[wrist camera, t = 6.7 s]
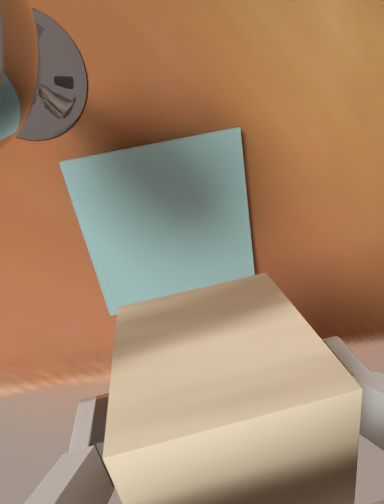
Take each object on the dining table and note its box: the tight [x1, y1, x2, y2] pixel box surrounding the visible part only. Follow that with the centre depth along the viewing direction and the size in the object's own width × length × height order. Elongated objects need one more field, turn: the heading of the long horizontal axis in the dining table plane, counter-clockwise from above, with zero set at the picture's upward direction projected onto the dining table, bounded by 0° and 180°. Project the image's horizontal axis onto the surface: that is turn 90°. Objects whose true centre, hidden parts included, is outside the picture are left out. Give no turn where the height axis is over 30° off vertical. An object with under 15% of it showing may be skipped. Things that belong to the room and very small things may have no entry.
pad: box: [59, 127, 255, 316], centre depth 24 cm, size 12×12×1 cm
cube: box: [102, 273, 363, 504], centre depth 9 cm, size 5×5×5 cm
